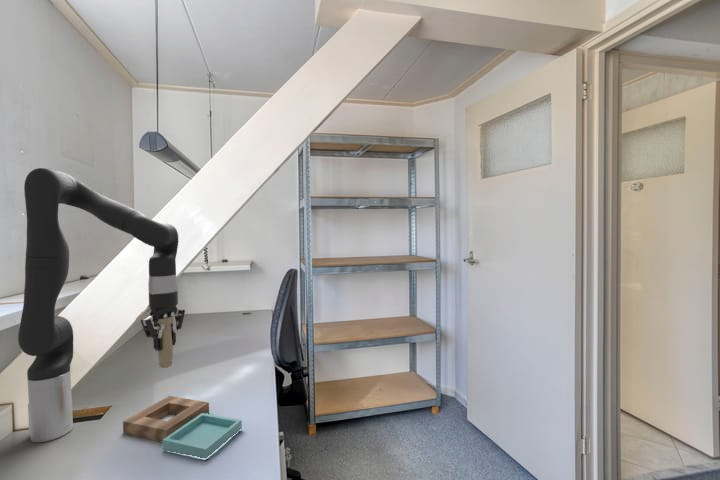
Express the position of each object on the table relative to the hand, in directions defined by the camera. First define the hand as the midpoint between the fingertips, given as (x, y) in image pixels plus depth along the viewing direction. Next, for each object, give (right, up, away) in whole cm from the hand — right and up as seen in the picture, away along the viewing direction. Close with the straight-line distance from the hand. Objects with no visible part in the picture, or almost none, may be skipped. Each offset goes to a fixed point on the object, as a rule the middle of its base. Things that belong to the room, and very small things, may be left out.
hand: (165, 347), depth 105 cm
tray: (+15, -23, -8) cm, 29 cm away
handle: (0, -6, 0) cm, 6 cm away
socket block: (+1, -23, +1) cm, 23 cm away
